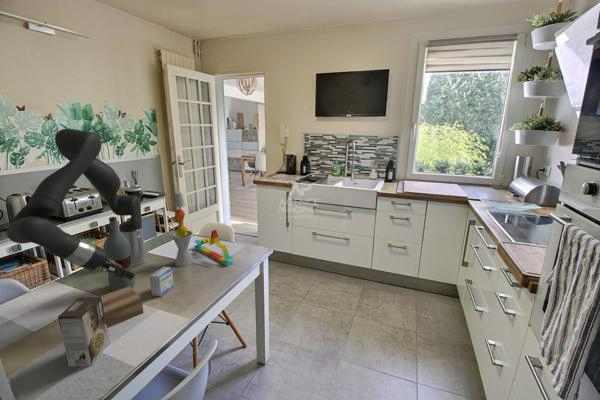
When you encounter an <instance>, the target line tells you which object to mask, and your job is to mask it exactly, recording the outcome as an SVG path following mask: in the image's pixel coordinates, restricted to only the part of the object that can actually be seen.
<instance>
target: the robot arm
mask: <svg viewBox="0 0 600 400" xmlns="http://www.w3.org/2000/svg"><path fill="white" fill-rule="evenodd" d="M54 142H55V145H56V146H55V147H56V148H57V150H58V151H59V152H60V154H61V155H62V156H63V157H64V158H66V159H67V160H68V162H67V163H66V164H65V165H63V166H62V167H61V168H59V169H57V170H56V171H54V172H53V173H51V174H49V175H47V176H46V177H45V178H44V179H42V181H40V183H39V184H38V185H37V187H36V189H35V190H34V192H33V193H32V194H31V196H30V198H29V199H28V202H27V203H26V204H25V205H24V206H23V207H22V208H21V209H20V211H19V212H18V213H16V215H15V216H14V217H13V218H12V220H11V221H10V222H9V224H8V226H7V229H6V235H7V239H9V240H10V241H11V242H13V243H16V244H30V243H32V244H36V245H38V246H40V247H42V248H44V250H45V251H46V252H47V253H49V254H51V255H53V256H56V257H58V258H60V259H63V260H64V261H67V262H68V263H71V264H73V265H75V266H78V267H80V268H83V269H85V270H88V271H90V272H91V271H95V270H97V269H98V268H100V269H101V271H102V270H103V271H104V272H107V273H108V272H110V273H112V274H115V275H117V276H119V277H121V278H123V277H125V278H128V279H130V280H132V279H133V277H134V276H135V277H136V274H135V272H134V273H132V272H129V271H127V270H126V269H124V268H125V267H124V266H122V265H120V264H118V263H116V262H115V261H114V260H112V259H111V258H109V257H107V256H106V255H107V252H106V250H104V248H101V247H100V246H98V245H96V244H93V243H91V242H89V241H88V240H84V239H81V238H79V237H77V236H76V235H75V236H74V235H72V234H70V233H68V232H65V231H64V230H63V229H61V227H59V226H58V225H56V224H55V223H53V222H51V221H50V220H48V219H49V217H51V216H52V215H54V214H56V213H57V211H58V210H59V209H60V207H61V205H62V203H63V202H64V200H65V199H66V198H67V195H68V193H69V191H70V190H71V189H72V187H73V186H74V185H75V183H76V182H77V181H78V180H79V178H81V176H82V175H83V176H84V177H85V178H86V180H87V181H89V183H90V184H91V185H92V186H93V188H94V189H95V190H96V191H97V192H98V193H99V194H100V196H102V198H103V199H104V200H105V202H106V203H107V205H108V207H109V209H110V210H111V212H112V213H113V214H114V215H116V216H119V217H120V216H121V217H124V216H130V218H129V219H128V220H126V221H125V220H124V221H123V222H121V223H120V224H118V230H119V231H120V232H121V233H122V234H123V235H124V236H125V237H126V238H127V239H128V241H129V243H130V247H131V265H132V267H137V266H140V265H143V264H145V263H146V262H147V257H146V249H145V247H146V246H145V241H144V233H143V232H144V231H143V225H142V223H143V220H142V218H143V217H142V205H141V200H140V197H139V196H138V195H135V194H134V195H133V194H132V195H119V194H118V192H119V190H120V188H121V184H122V183H121V182H122V181H121V179H120V177H119V175H118V174H117V172H116V171H115V169H113V168H112V167H111V166H110V165H109V164H107V163H106V162H104V161H102V160H101V159H99V158H98V156H99V154H100V152H101V149H102V140H101V138H100V136H99V135H98V134H97V133H95V132H92V131H88V130H82V129H81V130H80V129H74V128H62V129H60V130H58V131H57V132H56V134H55V137H54ZM119 272H121V273H120V274H119Z"/></svg>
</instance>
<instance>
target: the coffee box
mask: <svg viewBox="0 0 600 400" xmlns="http://www.w3.org/2000/svg"><path fill="white" fill-rule="evenodd" d="M57 320H58V323H59V324H58V325H59V328H60V333H61V337H62V341H63V346H64V349H65V350H64V351H65V355H66V360H67V364H68V367H69V368H70V367H71V368H73V367H91V366H93V365H94V364H95V363H96V361H97V360H98V359H99V357H100V356H101V354H102V353H103V352H104V351H105V350H106V348H107V346H108V345H109V343H110V337H109V332H108V331H109V330H108V328H107V325H106V320H105V315H104V309H103V304H102V299H101V297H100V296H98V297H97V296H95V297H94V296H81V297H78V298H77V299H75V300H74V301H73V303H71V304H70V305H69V306H68V307H67V308H65V310H64V311H63V312H61V313H60V314H59V315H58V316H57Z"/></svg>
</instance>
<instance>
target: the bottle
mask: <svg viewBox="0 0 600 400" xmlns="http://www.w3.org/2000/svg"><path fill="white" fill-rule="evenodd" d="M108 220H109V230H110V232H109V234H108V235H107V237H106V239H105V240H104V242H103V249H104V250H106V252H107V255H106V256H107V257H109V258H111V259H112V260H114V261H115V262H116V263H118V264H120V265H122V266H124V267H125V268H124V269H126V270H127V271H129V272H132V273H134V274H135V272H134V269H133V266H132V265H131V247H130V243H129V241H128V239H127V238H126V237H125V236H124V235H123V234H122V233H121V232H120V230H119V224H118V218H117V217H116V216H110V217H109V218H108ZM120 273H121V272H119V274H120ZM107 276H108V277H107V279H108V285H109V287H110V288H109V289H110V290H111V291H112V292H114V291H117V290H120V289H123V288H125V287H128V286H130V287H131V288H132V289H133V288H134V286H135V281H136V280H135V279H136V275H135V276H134V277H133V279H132V280H130V279H128V278H125V277H123V278H121V277H119V276H117V275H115V274H112V273H110V272H107Z"/></svg>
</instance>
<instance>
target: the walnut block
mask: <svg viewBox="0 0 600 400" xmlns="http://www.w3.org/2000/svg"><path fill="white" fill-rule="evenodd" d="M99 297H101V299H102V304H103V309H104V315H105V320H106V325H107V329H110V328H112V327H114V326H116V325H118V324H121V323H123V322H126V321H128V320H131V319H133V318H135V317H137V316H140V315H143V314H144V306H143V299H142V298H141V296H140V295H139V294H138V293H137V292H136V291H135V290H134V289H133V288H131V287H130V286H128V287H125V288H123V289H120V290H117V291H114V292H113V291H112V292H108V293H105V294H103V295H100V296H99Z"/></svg>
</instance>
